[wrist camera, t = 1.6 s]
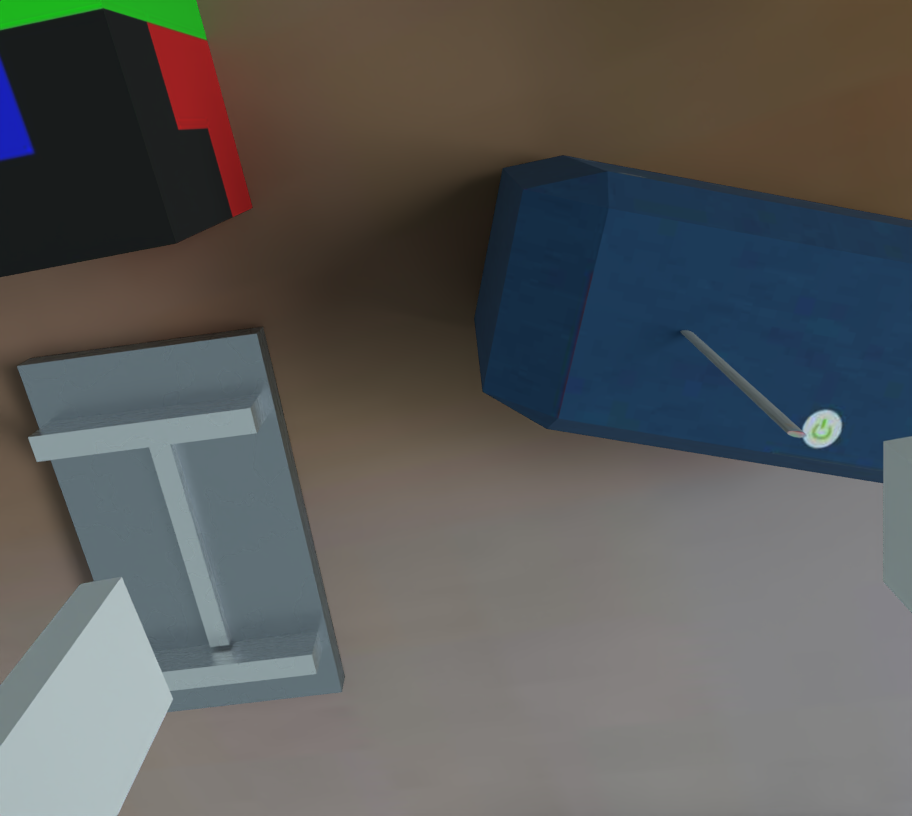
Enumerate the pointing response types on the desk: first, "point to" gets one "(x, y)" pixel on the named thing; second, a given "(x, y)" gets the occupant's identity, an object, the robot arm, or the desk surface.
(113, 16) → the puzzle toy
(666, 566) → the desk surface
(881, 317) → the radio
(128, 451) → the rail plate
